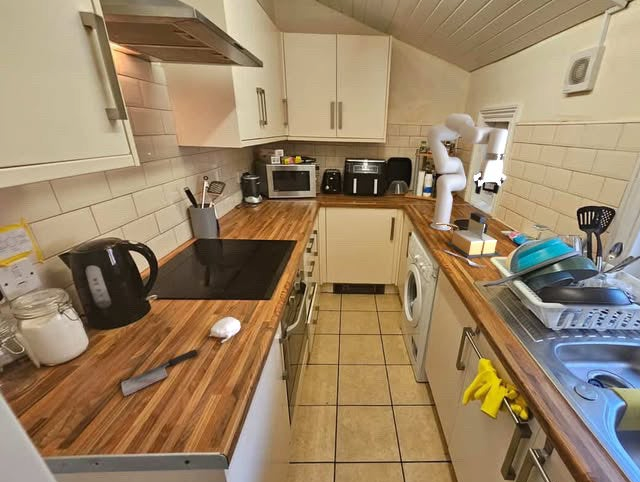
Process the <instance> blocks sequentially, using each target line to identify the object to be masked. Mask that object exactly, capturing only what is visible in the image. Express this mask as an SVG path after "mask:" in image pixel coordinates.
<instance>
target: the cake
mask: <svg viewBox="0 0 640 482" xmlns="http://www.w3.org/2000/svg"><path fill="white" fill-rule="evenodd" d="M497 241H498V239H496V238H494V237H492V236H491V235H488V234H486V233H485V232H483V237H482V238H480V237H478V236H477V235H475V234H473V233H471V232H470V231H468V229H466V230H453V232H452V238H451V241H446V242H445V244H447V245H448V246H449V247H451V248H452V249H454V250H455V252H457V253H459V254H460V255H461V256H462V257H464V258H466V259H474V258H487V257H498V256H499V257H500V256H501V254H500V253H498V251H497V252H496V246H497Z"/></svg>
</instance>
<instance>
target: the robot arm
mask: <svg viewBox="0 0 640 482" xmlns="http://www.w3.org/2000/svg"><path fill="white" fill-rule="evenodd" d="M508 136H509V130H508V129H507V128H497V127H492V126H491V127H489V126H488V127H487V126H476V125H475V121H474V120H473V118H472V117H471V115H469V114H467V113H451V114H449V115H448V116H447V117H446V118H445V120H444V124H436V125H432V126H430V128H429V129H428V131H427V135H426V141H427V145H428V148H429V150H430V153H431V155H432V160H433V164H434V168H435V172H436V174H439V175H440V176H438V178H437V180H436V184H435V185H436V196H435V197H436V198H435V206H434V213H433V217H432V222H431V223H430V224H429V227H430V228H431V229H433V230H437V231H450V230H451V229H452V226H451V225H450V221H451V215H452V209H453V201H454V198H453V194H452V192H460V191H463V190H465V188H466V187H467V176H466V174H465V169H464V164H463V162H462V160H461V159H460V157H457V156H449V153H448V150H447V147H446V146H445V144H444V143H442V142H452V141H456V140H457V139H459V138H461V140H463V141H464V142H467V143H469V144H471V145H487V147H486V151H485V156H484V159H482V161H481V162H480V163H481V164H480V165H479V170H478V172H477V173H476V174H474V175H472V181H473V182H474V185H475V189H474V190H475V191H474V193H475V194H476V195H480V194H481V192H482V191H481V190H482V184H483V183H494V185H493V187H492V194H496V195H498V194H499V191H500V190H499V189H500V187H501V186H502V184H503V183H504V182H505V180H506V179H507V175H505V174H504V173H503V170H504V169H503V168H504V160H503V159H504V158H505V156H506V154H504V152H505V149H506V143H507V140H508ZM436 223H445V224H449V225H450V226H451V227H450V226H447V225H437V224H436Z"/></svg>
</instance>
